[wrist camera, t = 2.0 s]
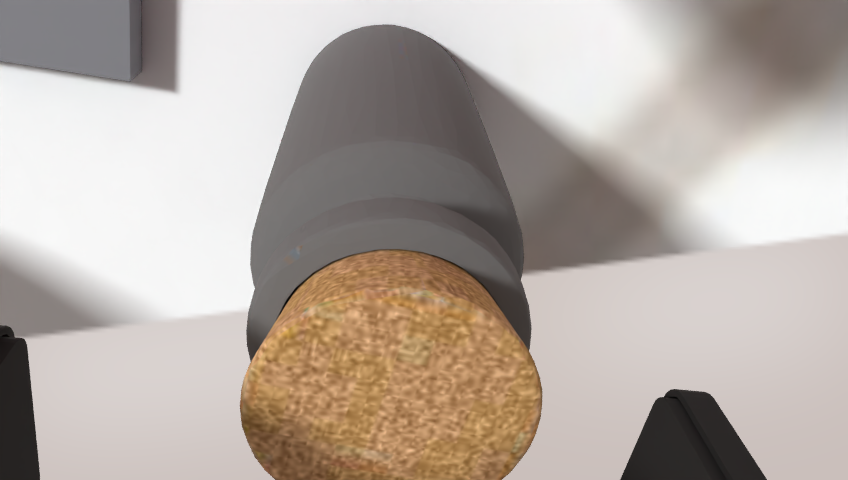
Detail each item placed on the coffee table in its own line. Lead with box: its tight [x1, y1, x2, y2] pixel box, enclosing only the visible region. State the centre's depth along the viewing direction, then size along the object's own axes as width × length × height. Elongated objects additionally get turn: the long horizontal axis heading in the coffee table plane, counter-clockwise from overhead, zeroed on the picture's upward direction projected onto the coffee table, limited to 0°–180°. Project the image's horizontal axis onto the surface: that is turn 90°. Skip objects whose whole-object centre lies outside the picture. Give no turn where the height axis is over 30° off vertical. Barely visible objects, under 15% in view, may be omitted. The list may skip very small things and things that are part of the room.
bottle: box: [240, 25, 542, 480], centre depth 17 cm, size 6×6×15 cm
